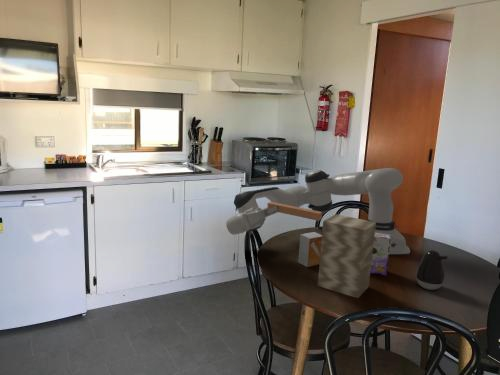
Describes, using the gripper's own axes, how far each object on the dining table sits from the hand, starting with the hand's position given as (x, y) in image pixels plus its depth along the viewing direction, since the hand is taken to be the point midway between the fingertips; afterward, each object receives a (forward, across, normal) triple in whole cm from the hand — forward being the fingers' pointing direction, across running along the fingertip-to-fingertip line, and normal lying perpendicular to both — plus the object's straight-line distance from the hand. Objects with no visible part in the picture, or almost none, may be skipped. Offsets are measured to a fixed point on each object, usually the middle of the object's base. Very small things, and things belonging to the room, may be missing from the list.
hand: (279, 206), depth 180 cm
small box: (-1, -7, -28) cm, 29 cm away
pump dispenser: (+40, -16, -51) cm, 67 cm away
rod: (+5, 0, -5) cm, 7 cm away
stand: (+16, +6, -38) cm, 41 cm away
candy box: (+19, -16, -40) cm, 47 cm away
